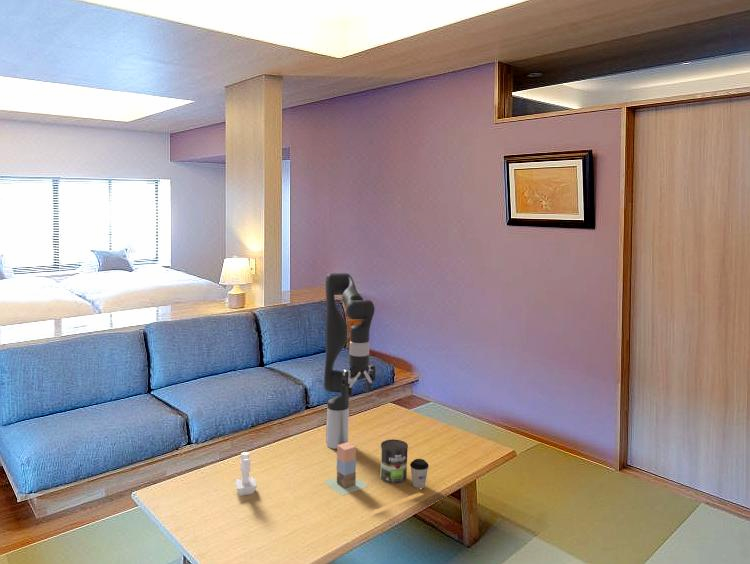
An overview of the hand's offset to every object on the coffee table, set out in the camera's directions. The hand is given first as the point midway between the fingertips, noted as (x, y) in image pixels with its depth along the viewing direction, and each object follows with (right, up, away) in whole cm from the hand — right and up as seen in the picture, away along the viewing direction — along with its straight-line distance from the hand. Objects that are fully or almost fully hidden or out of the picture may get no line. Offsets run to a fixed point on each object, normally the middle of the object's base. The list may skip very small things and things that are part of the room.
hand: (358, 394), depth 218 cm
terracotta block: (-4, -23, -5) cm, 24 cm away
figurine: (-41, -34, -9) cm, 54 cm away
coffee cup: (+23, -35, -2) cm, 41 cm away
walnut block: (-5, -33, -3) cm, 33 cm away
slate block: (-4, -28, -4) cm, 29 cm away
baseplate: (-5, -34, -3) cm, 34 cm away
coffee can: (+13, -34, +3) cm, 36 cm away
